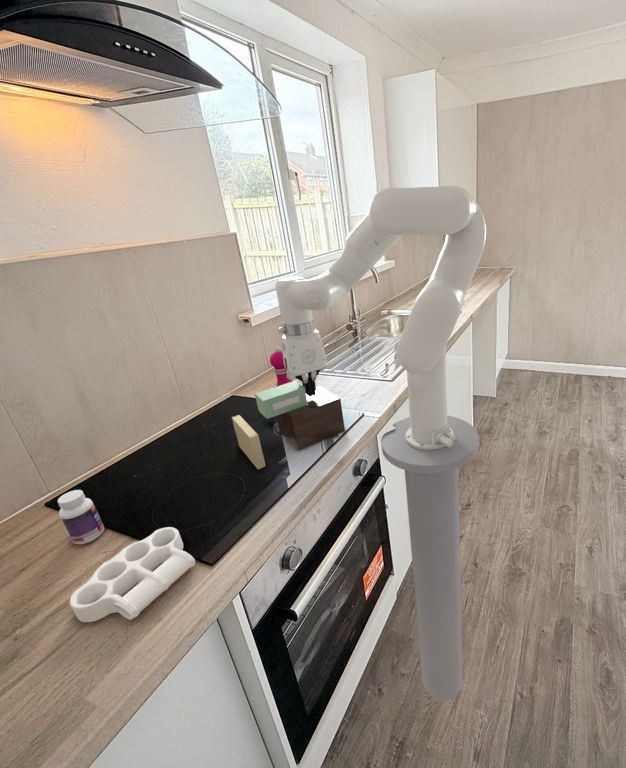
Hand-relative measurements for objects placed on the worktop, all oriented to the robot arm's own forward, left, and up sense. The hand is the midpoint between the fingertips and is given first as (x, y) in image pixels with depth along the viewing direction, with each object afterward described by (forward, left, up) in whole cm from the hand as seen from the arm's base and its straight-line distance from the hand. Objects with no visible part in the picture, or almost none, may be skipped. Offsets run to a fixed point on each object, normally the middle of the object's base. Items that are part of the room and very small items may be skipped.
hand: (310, 394), depth 110 cm
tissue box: (0, +8, -1) cm, 8 cm away
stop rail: (0, +18, -11) cm, 22 cm away
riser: (0, +1, -11) cm, 11 cm away
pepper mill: (+20, -1, -11) cm, 23 cm away
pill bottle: (-5, +53, -11) cm, 55 cm away
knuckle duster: (-25, +47, -11) cm, 54 cm away
